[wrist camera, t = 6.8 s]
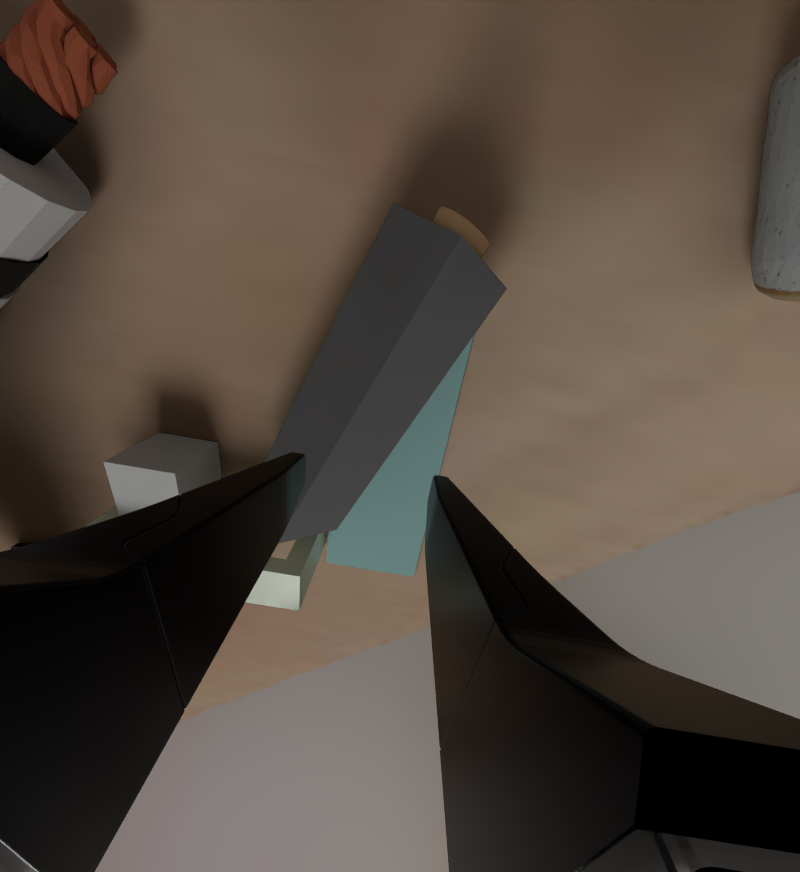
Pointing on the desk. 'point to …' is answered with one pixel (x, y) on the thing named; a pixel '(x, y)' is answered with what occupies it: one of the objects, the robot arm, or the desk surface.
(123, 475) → the block
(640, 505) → the desk surface
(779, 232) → the ceramic mug
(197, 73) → the desk surface
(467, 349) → the mat
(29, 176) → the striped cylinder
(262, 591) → the light grey piece
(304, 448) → the dark gray bar
